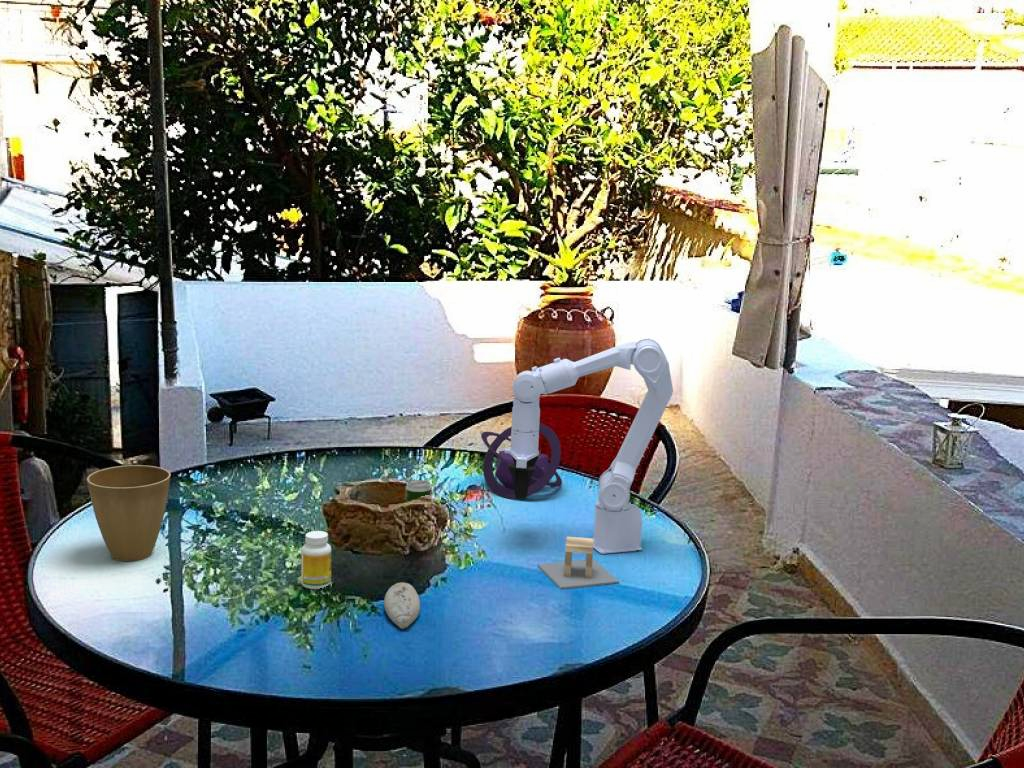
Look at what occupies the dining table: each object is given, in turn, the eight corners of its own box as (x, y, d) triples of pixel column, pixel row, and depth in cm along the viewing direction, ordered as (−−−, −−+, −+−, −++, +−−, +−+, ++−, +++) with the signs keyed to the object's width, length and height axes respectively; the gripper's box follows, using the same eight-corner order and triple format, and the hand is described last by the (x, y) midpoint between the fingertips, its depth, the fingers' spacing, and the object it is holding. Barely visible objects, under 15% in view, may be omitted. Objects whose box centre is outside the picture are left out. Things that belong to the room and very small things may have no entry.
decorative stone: (386, 633, 163) (387, 614, 162) (381, 596, 178) (382, 578, 177) (423, 632, 164) (424, 612, 163) (415, 595, 179) (416, 577, 178)
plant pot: (76, 553, 192) (73, 473, 189) (149, 537, 202) (147, 461, 200) (112, 575, 182) (109, 491, 179) (186, 556, 193) (185, 476, 190)
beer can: (411, 544, 204) (413, 488, 202) (399, 536, 209) (401, 481, 207) (434, 540, 207) (436, 485, 205) (422, 532, 212) (423, 478, 210)
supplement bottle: (298, 581, 183) (298, 531, 181) (326, 577, 185) (327, 528, 183) (305, 591, 178) (305, 540, 176) (334, 587, 180) (335, 537, 179)
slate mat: (593, 561, 199) (593, 559, 199) (619, 583, 188) (619, 581, 188) (537, 566, 195) (537, 564, 195) (560, 589, 184) (560, 587, 184)
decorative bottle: (459, 489, 245) (462, 389, 240) (507, 472, 262) (511, 379, 258) (534, 507, 233) (539, 403, 228) (580, 488, 250) (586, 391, 245)
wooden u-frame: (565, 566, 194) (566, 536, 193) (591, 568, 194) (593, 538, 193) (564, 576, 189) (565, 545, 188) (591, 578, 189) (593, 547, 188)
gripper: (509, 420, 212) (506, 481, 215) (502, 436, 198) (499, 501, 201) (541, 422, 212) (538, 484, 214) (537, 438, 198) (534, 504, 200)
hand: (522, 492), depth 208 cm, fingers open, 7 cm apart
